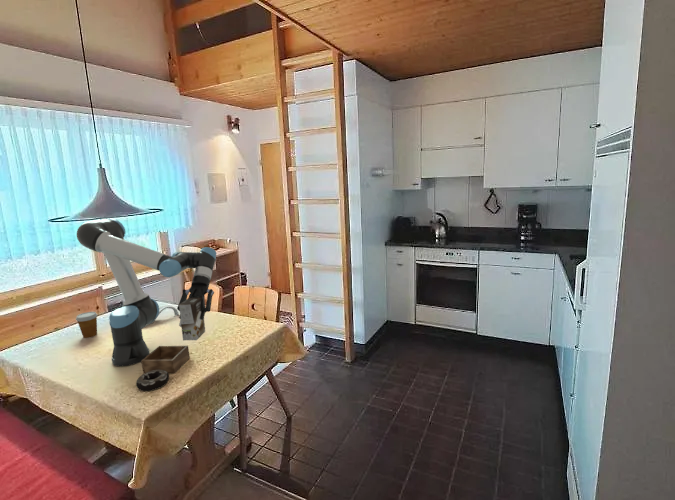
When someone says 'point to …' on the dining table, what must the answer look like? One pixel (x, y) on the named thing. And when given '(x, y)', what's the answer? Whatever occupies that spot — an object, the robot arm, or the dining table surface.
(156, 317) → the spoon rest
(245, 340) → the dining table surface
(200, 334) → the coffee box
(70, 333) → the dining table surface
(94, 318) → the disposable coffee cup
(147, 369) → the open wooden box
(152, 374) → the donut
